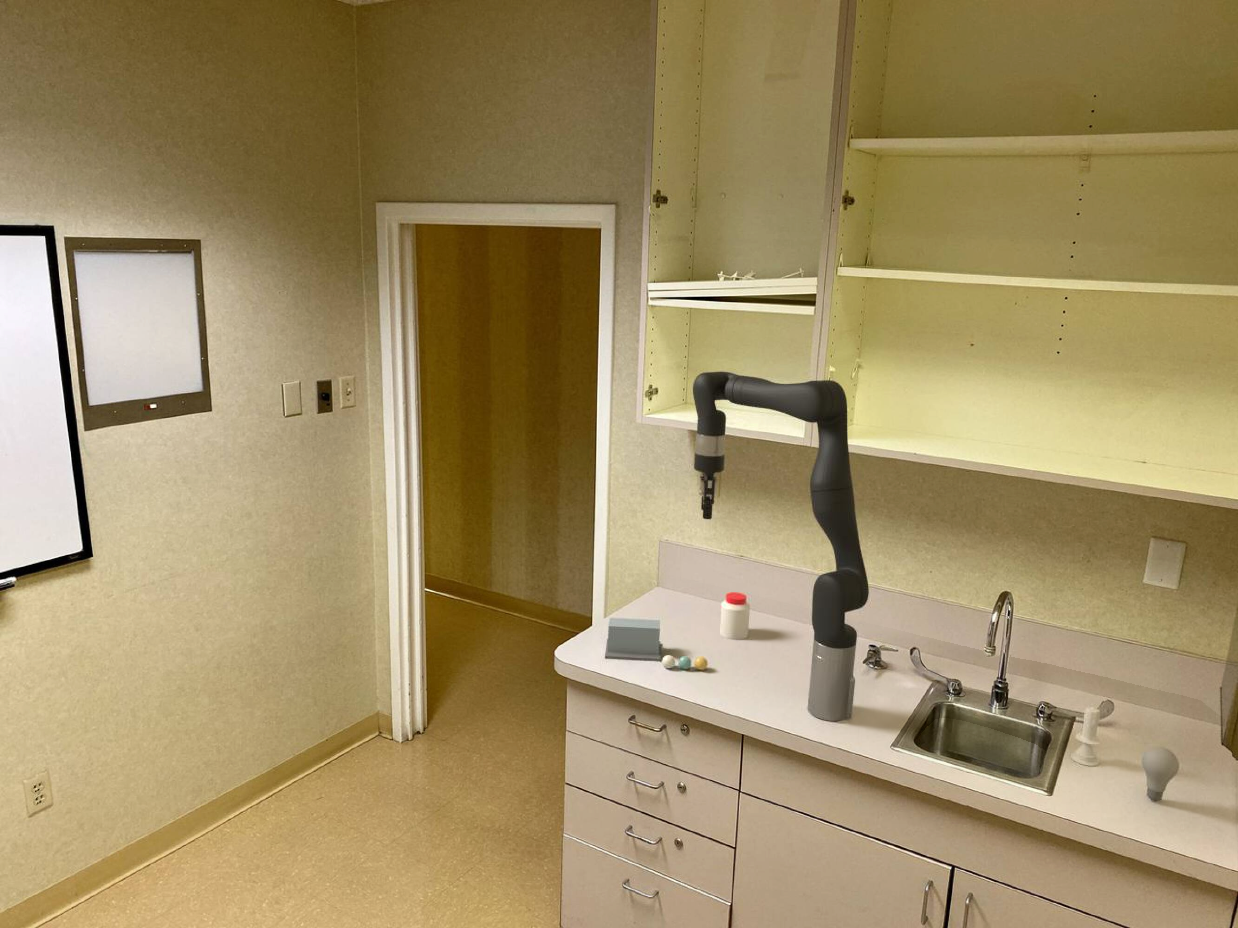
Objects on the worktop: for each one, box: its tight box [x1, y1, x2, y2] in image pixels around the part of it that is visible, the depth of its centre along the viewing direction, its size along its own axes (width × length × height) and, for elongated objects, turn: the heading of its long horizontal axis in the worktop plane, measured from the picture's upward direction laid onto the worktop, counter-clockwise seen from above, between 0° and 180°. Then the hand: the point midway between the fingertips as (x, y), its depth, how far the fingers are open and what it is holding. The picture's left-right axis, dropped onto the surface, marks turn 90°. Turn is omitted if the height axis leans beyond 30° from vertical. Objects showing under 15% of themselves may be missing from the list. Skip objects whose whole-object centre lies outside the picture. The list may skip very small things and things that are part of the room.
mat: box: [604, 638, 661, 662], centre depth 232 cm, size 14×11×1 cm
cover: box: [607, 617, 661, 654], centre depth 231 cm, size 13×6×7 cm, turn 88°
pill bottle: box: [719, 591, 751, 641], centre depth 244 cm, size 8×8×11 cm
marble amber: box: [694, 656, 708, 671], centre depth 223 cm, size 3×3×3 cm
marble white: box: [661, 654, 676, 669], centre depth 223 cm, size 3×3×3 cm
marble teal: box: [678, 655, 692, 670], centre depth 223 cm, size 3×3×3 cm
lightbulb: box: [1141, 745, 1180, 802], centre depth 172 cm, size 6×6×11 cm
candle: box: [1070, 705, 1102, 767], centre depth 186 cm, size 5×5×12 cm
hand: (706, 514), depth 228 cm, fingers open, 8 cm apart
